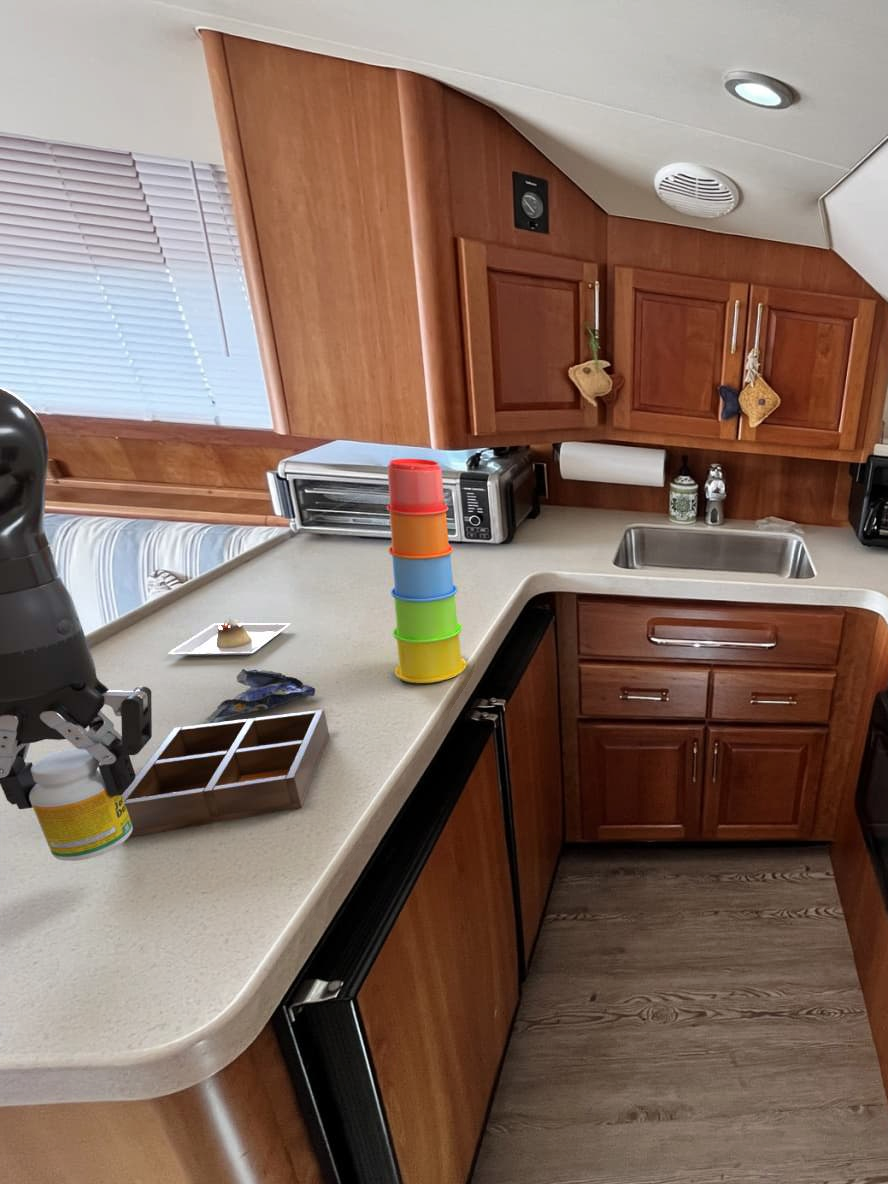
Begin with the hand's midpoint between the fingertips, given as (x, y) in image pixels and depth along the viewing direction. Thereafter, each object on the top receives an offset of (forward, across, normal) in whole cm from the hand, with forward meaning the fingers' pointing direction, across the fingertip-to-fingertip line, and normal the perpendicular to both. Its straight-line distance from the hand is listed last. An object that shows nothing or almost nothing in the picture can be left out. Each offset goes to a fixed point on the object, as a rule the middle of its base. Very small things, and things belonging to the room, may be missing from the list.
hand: (76, 796), depth 59 cm
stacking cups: (+10, -25, -39) cm, 47 cm away
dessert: (+11, +6, -57) cm, 58 cm away
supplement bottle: (+6, 0, 0) cm, 6 cm away
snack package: (+10, -4, -33) cm, 35 cm away
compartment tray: (+10, -6, -14) cm, 19 cm away
